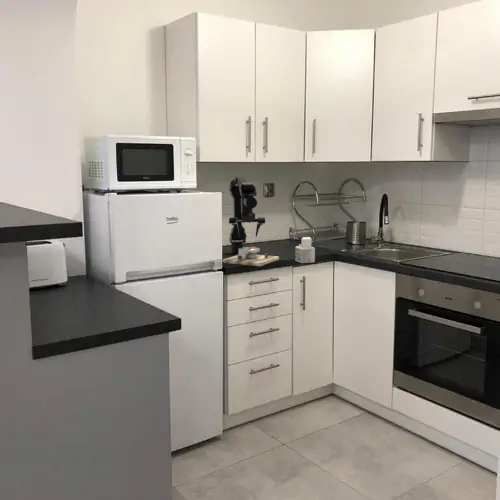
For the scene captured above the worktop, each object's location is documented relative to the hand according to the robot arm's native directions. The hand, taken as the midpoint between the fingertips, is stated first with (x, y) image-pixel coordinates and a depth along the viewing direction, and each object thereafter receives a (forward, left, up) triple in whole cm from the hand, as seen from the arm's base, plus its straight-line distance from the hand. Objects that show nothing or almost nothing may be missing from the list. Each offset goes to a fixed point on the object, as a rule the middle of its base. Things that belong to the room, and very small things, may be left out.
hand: (247, 236), depth 288 cm
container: (+27, +13, -13) cm, 33 cm away
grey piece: (+1, -2, -8) cm, 9 cm away
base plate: (+1, +2, -13) cm, 13 cm away
